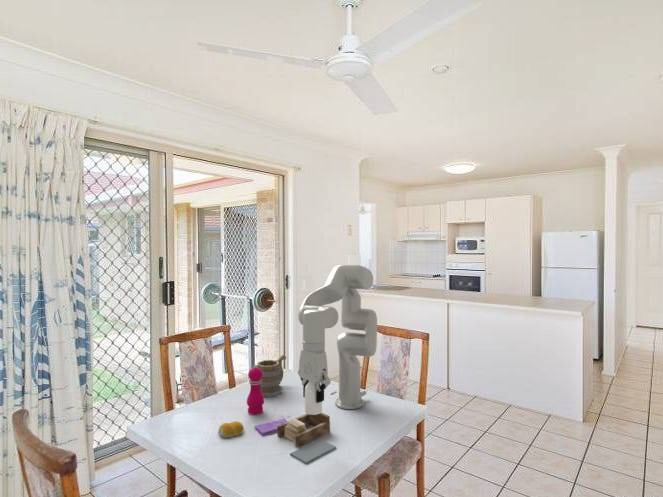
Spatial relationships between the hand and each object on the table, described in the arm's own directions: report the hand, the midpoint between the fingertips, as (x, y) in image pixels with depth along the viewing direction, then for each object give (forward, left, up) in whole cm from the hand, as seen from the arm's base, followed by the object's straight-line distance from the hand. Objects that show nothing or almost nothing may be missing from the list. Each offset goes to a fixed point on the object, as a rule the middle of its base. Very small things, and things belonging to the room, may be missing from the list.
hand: (313, 398), depth 135 cm
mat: (0, 0, -18) cm, 18 cm away
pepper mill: (-5, -41, -19) cm, 45 cm away
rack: (-6, -12, -18) cm, 22 cm away
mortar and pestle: (-26, -56, -19) cm, 64 cm away
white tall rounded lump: (0, 0, -5) cm, 5 cm away
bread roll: (+12, -32, -19) cm, 39 cm away
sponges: (-1, -24, -19) cm, 30 cm away
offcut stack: (-2, -12, -18) cm, 22 cm away
